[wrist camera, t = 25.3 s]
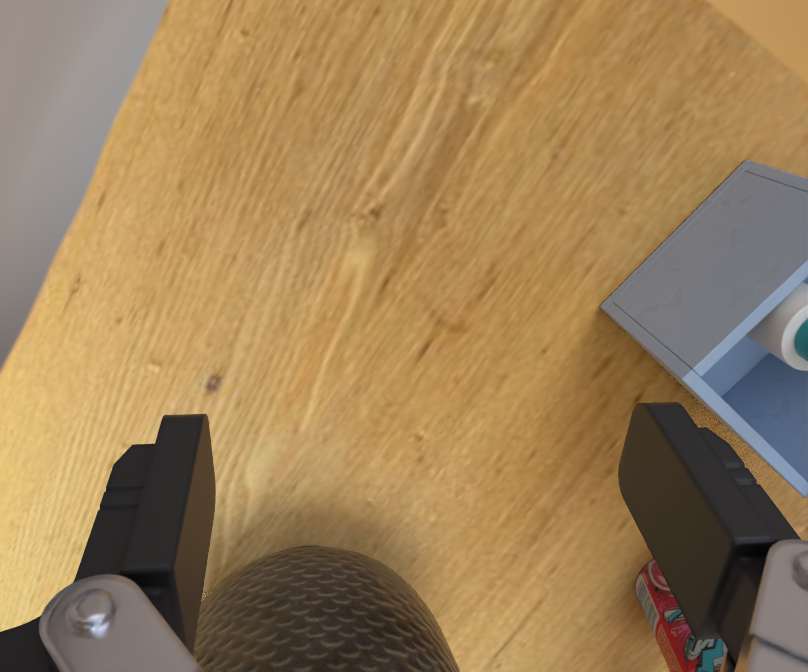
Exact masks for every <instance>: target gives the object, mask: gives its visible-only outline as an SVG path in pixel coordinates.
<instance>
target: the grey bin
mask: <svg viewBox="0 0 808 672" xmlns="http://www.w3.org/2000/svg"><path fill="white" fill-rule="evenodd" d="M801 282H804V283H806V284H808V179H807V178H804V177H801V176H797V175H794V174H791V173H788V172H785V171H781V170H778V169H775V168H772V167H768V166H765V165H762V164H759V163H755V162H752V161H749V160H745V161H744V162H743V163H742V164H741V165H740V166H739V167H738V168H737V169H736V170H735V171H734V172H733V173H732V174H731V175H730V176H729V177H728V178H727V179H726V180H725V181H724V182H723V183H722V184H721V185H720V186H719V187H718V188H717V189H716V190H715V191H714V192H713V193H712V194H711V195H710V196H709V197H708V198H707V199H706V200H705V201H704V202H703V203H702V204H701V205H700V206H699V207H698V208H697V209H696V210H695V211H694V212H693V213H692V214H691V215H690V216H689V217H688V218H687V219H686V220H685V221H684V222H683V223H682V224H681V225H680V226H679V227H678V228H677V229H676V230H675V231H674V232H673V233H672V234H671V235H670V236H669V237H668V238H667V239H666V240H665V241H664V242H663V243H662V244H661V245H660V246H659V247H658V248H657V249H656V250H655V251H654V252H653V253H652V254H651V255H650V256H649V257H648V258H647V259H646V260H645V261H644V262H643V263H642V264H641V265H640V266H639V267H638V268H637V269H636V270H635V271H634V272H633V273H632V274H631V275H630V276H629V277H628V278H627V279H626V280H625V281H624V282H623V283H622V284H621V285H620V286H619V287H618V288H617V289H616V290H615V291H614V292H613V293H612V294H611V295H610V296H609V297H608V298H607V299H606V300H605V301H604V302H603V303H602V304H601V305H600V308H601V309H602V310H603V311H604V312H605V313H606V314H607V315H608V316H610V317H611V318H612V319H613V320H614V321H615V322H616V323H617V324H618V325H619V326H620V327H621V328H622V329H623V330H624V331H625V332H626V333H627V334H628V335H629V336H631V337H632V338H633V339H634V340H635V341H636V342H637V343H638V344H639V345H640V346H641V347H642V348H643V349H644V350H645V351H646V352H647V353H648V354H649V355H650V356H652V357H653V358H654V359H655V360H656V361H657V362H658V363H659V364H660V365H661V366H662V367H663V368H664V369H665V370H666V371H667V372H668V373H669V374H670V375H671V376H673V377H674V378H675V379H676V380H677V381H678V382H679V383H680V384H681V385H682V386H683V387H684V388H685V389H686V390H687V391H688V392H689V393H690V394H691V395H692V396H694V397H695V398H696V399H697V400H698V401H699V402H700V403H701V404H702V405H703V406H704V407H705V408H706V409H707V410H708V411H709V412H710V413H712V414H713V415H714V416H715V417H716V418H717V419H718V420H719V421H720V422H721V423H723V424H724V425H725V426H726V427H727V428H728V429H729V430H730V431H731V432H732V433H734V434H735V435H736V436H737V437H738V438H739V439H740V440H741V441H742V442H743V443H745V444H746V445H747V446H748V447H749V448H750V449H751V450H752V451H753V452H755V453H756V454H757V455H758V456H759V457H760V458H761V459H762V460H763V461H764V462H766V463H767V464H768V465H769V466H770V467H771V468H772V469H773V470H774V471H775V472H777V473H778V474H779V475H780V476H781V477H782V478H783V479H784V480H785V481H786V482H788V483H789V484H790V485H791V486H792V487H793V488H794V489H795V490H796V491H797V492H799V493H800V494H801V495H802V496H803V497H804V498H807V497H808V371H802V370H797V369H795V368H793V367H791V366H789V365H788V364H786V363H785V362H783V361H782V360H780V359H779V358H778V357H776V356H775V355H773V354H772V353H770V352H769V351H767V350H766V349H764V348H763V347H761V346H760V345H758V344H757V343H755V342H754V341H753V340H751V339H750V338H748V337H747V336H745V335H746V334H747V333H748V332H749V331H750V330H751V329H753V328H754V327H755V326H756V325H757V324H758V323H759V322H760V321H761V320H762V319H763V318H764V317H765V316H766V315H767V314H768V313H770V312H771V311H772V310H773V309H774V308H775V307H776V306H777V305H778V304H779V303H780V302H781V301H782V300H783V299H784V298H785V297H787V296H788V295H789V294H790V293H791V292H792V291H793V290H794V289H795V288H796V287H797V286H798V285H799V284H800V283H801Z"/></svg>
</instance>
